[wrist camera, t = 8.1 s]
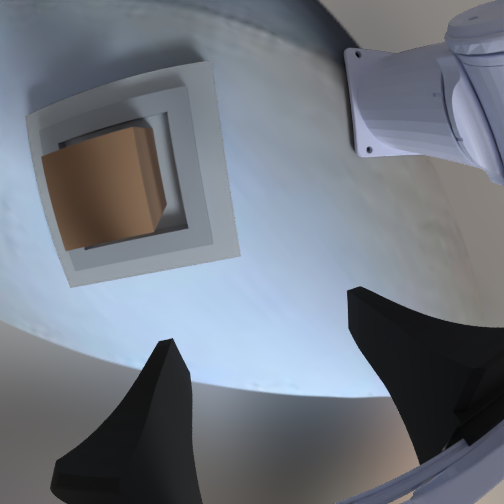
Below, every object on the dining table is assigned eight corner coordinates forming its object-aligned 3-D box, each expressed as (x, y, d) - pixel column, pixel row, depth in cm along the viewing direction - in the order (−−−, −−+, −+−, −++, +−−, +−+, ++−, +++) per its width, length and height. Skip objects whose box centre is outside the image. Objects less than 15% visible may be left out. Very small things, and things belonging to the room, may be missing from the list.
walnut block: (153, 128, 15) (132, 127, 10) (166, 204, 17) (154, 232, 12) (81, 148, 14) (41, 156, 10) (97, 219, 16) (65, 251, 12)
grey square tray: (210, 67, 16) (211, 55, 13) (237, 244, 20) (243, 262, 18) (40, 116, 14) (17, 116, 12) (79, 274, 19) (65, 295, 17)
